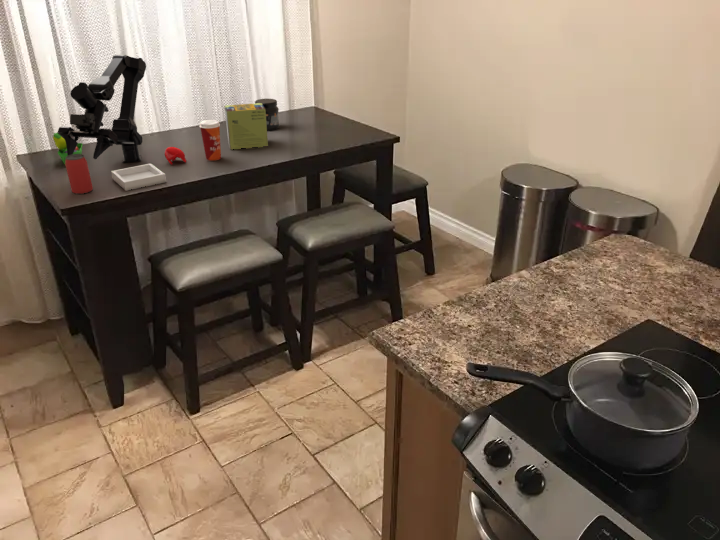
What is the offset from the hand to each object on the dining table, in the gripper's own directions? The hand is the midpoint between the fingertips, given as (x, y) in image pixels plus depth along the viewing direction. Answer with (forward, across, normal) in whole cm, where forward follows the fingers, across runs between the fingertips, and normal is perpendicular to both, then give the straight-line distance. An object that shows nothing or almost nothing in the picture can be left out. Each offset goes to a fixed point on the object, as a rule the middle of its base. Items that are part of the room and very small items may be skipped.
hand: (81, 158), depth 200 cm
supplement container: (-51, +37, +65) cm, 91 cm away
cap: (-14, +18, +29) cm, 37 cm away
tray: (+1, +14, +14) cm, 20 cm away
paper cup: (-19, +30, +34) cm, 49 cm away
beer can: (+10, 0, +5) cm, 11 cm away
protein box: (-33, +37, +47) cm, 68 cm away
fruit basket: (-10, -22, +25) cm, 35 cm away
